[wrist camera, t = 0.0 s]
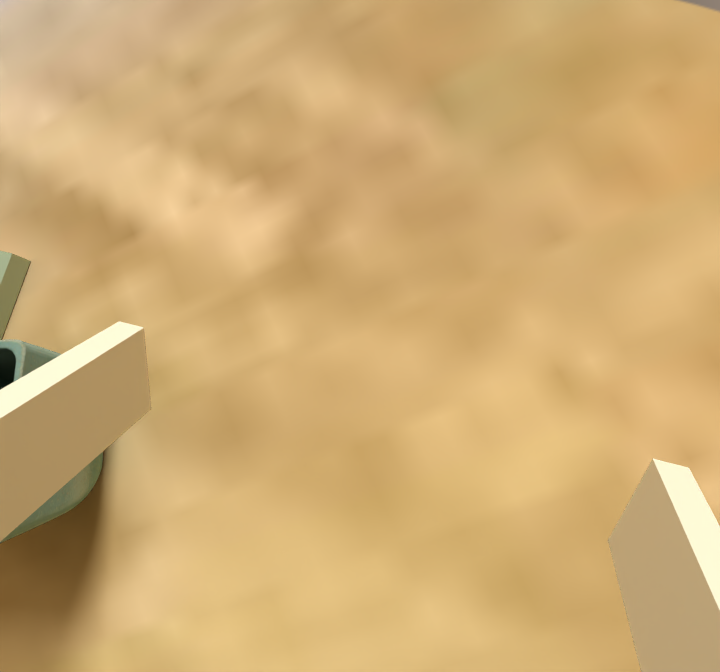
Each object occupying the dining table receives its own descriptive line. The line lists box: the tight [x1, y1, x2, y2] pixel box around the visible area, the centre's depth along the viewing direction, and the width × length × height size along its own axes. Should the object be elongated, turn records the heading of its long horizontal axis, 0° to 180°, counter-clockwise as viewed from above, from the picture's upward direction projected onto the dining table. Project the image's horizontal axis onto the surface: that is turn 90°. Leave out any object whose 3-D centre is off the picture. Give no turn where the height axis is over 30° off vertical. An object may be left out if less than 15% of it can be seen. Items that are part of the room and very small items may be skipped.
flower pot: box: [0, 339, 103, 543], centre depth 25 cm, size 9×9×9 cm
